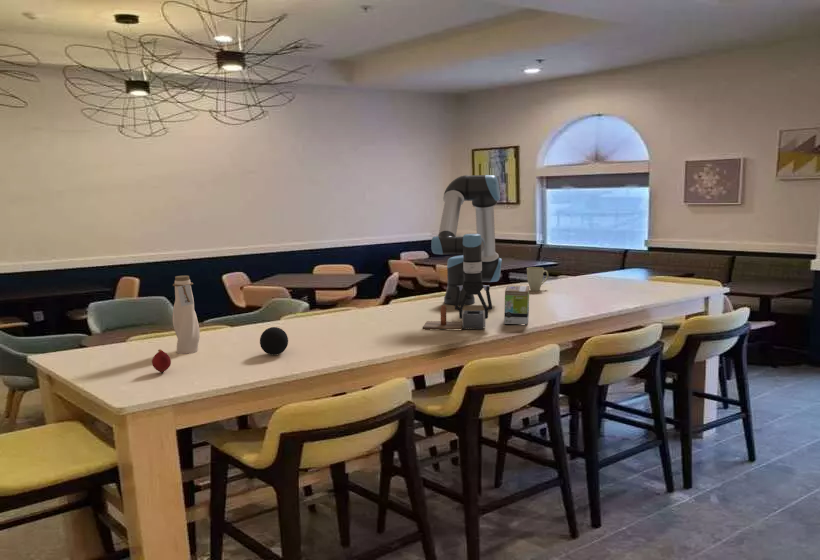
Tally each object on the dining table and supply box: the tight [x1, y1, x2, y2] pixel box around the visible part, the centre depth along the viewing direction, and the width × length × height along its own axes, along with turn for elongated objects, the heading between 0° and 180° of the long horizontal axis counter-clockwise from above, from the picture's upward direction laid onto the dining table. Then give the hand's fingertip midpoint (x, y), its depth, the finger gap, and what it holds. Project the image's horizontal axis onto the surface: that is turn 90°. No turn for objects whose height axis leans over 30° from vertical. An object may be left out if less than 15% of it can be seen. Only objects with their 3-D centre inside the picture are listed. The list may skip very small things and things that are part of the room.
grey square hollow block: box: [462, 310, 484, 330], centre depth 279 cm, size 8×8×6 cm
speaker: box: [259, 326, 289, 356], centre depth 243 cm, size 10×10×10 cm
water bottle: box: [172, 275, 201, 354], centre depth 248 cm, size 10×9×28 cm
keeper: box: [421, 304, 463, 331], centre depth 282 cm, size 12×16×9 cm
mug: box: [526, 266, 549, 292], centre depth 366 cm, size 11×10×12 cm
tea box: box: [503, 285, 530, 325], centre depth 289 cm, size 15×10×15 cm, turn 168°
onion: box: [151, 348, 172, 373], centre depth 223 cm, size 6×6×8 cm
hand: (473, 326), depth 280 cm, fingers closed on grey square hollow block, 8 cm apart
